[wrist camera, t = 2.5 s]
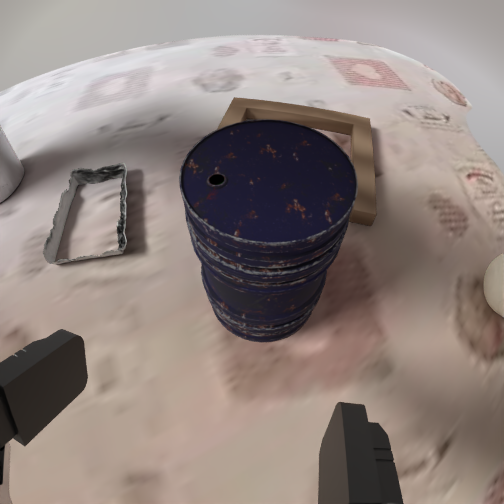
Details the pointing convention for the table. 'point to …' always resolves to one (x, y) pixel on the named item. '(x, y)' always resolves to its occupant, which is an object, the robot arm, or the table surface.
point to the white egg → (495, 285)
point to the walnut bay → (325, 121)
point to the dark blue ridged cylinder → (266, 221)
